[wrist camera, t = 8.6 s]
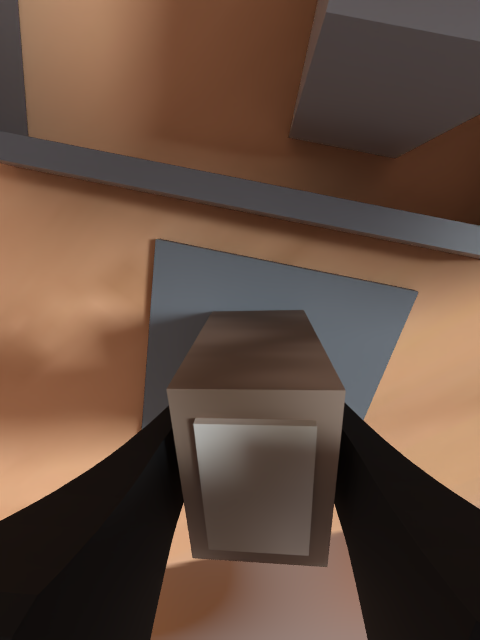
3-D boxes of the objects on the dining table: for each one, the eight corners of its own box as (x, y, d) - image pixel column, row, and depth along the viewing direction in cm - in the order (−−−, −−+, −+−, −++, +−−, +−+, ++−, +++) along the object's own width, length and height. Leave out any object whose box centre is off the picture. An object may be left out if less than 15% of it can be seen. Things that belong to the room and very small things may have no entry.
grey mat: (413, 289, 11) (418, 292, 11) (333, 477, 15) (335, 483, 14) (159, 238, 11) (155, 239, 11) (143, 437, 15) (140, 442, 15)
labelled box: (303, 309, 11) (348, 395, 5) (299, 423, 13) (329, 575, 7) (212, 311, 12) (163, 394, 6) (221, 421, 14) (190, 566, 8)
